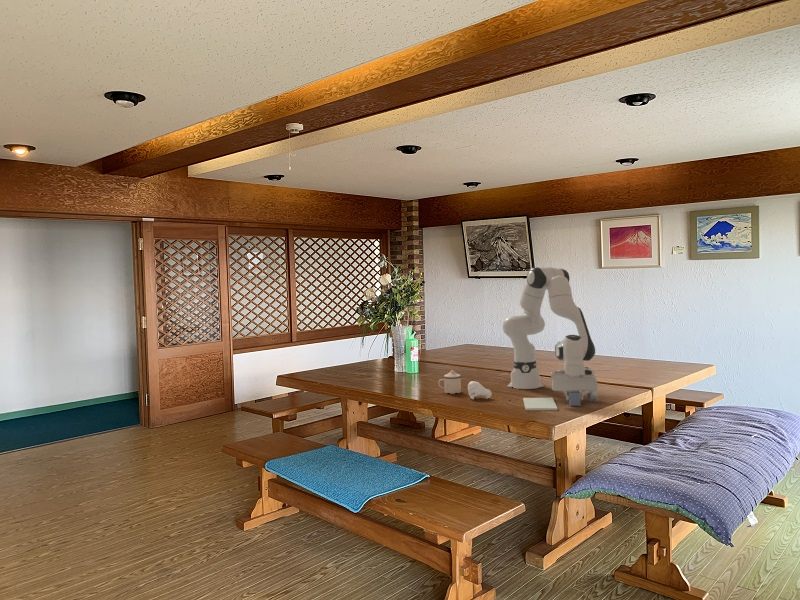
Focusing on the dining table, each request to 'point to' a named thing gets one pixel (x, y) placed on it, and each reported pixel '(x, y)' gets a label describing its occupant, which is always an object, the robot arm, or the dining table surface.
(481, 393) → the white figurine
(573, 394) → the slate blue block
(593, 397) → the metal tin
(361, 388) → the dining table surface
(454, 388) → the teacup with lid
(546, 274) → the robot arm
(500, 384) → the dining table surface
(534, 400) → the sage board
